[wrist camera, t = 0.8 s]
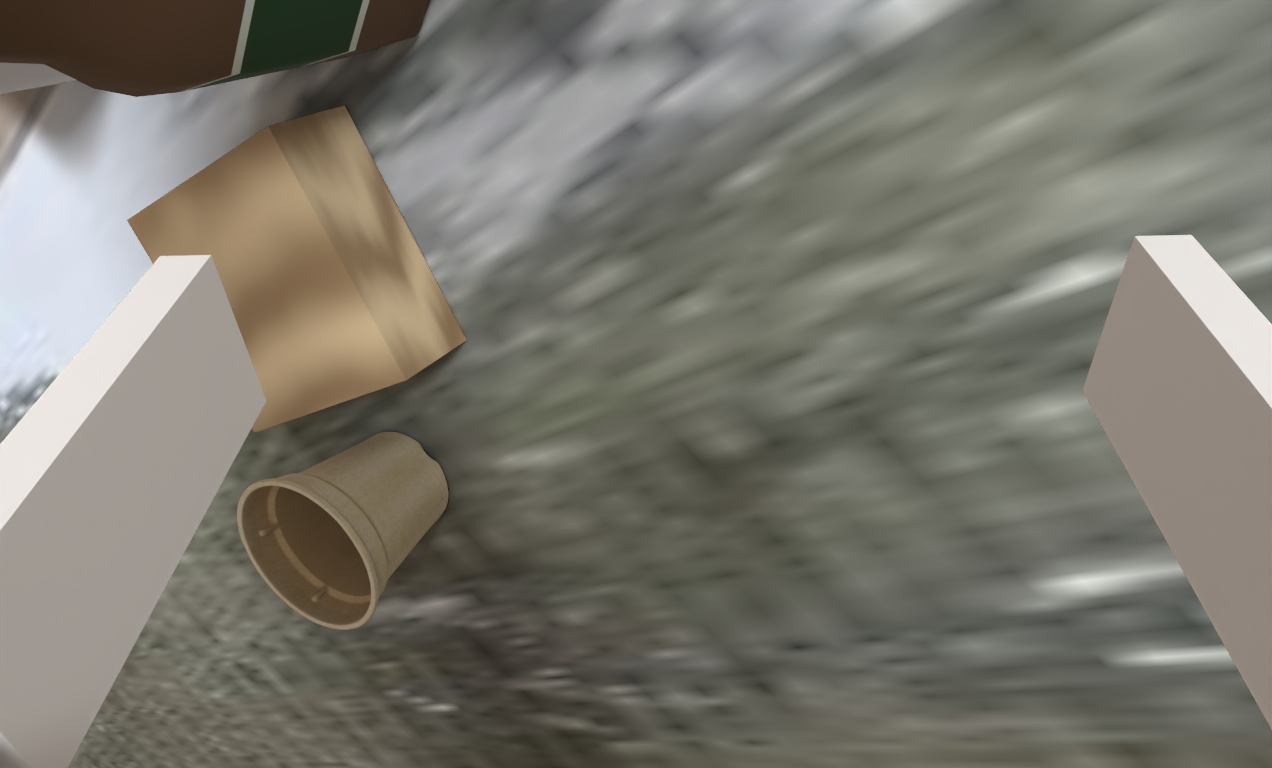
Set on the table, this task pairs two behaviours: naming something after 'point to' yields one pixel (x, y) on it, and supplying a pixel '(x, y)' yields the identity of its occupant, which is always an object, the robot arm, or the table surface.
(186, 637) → the table surface
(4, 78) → the lumpy-topped squat cylinder
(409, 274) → the olive wood block
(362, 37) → the beer bottle
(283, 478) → the flower pot
